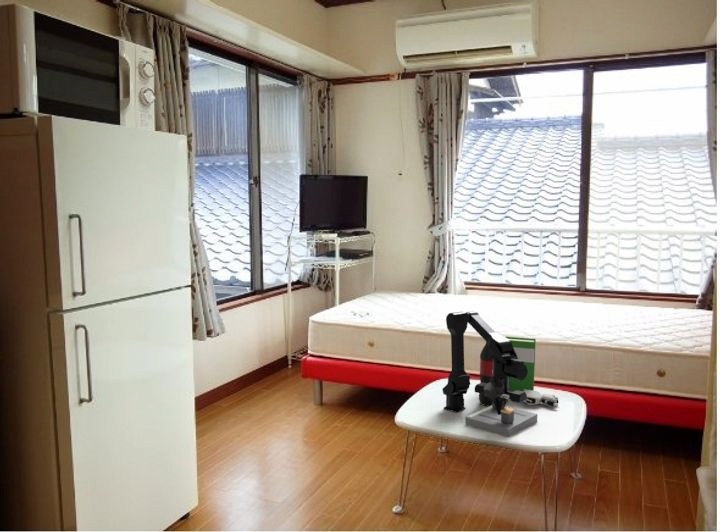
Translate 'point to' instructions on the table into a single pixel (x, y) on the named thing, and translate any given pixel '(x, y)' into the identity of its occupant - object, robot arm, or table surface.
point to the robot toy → (540, 398)
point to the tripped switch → (507, 415)
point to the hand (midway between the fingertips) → (499, 414)
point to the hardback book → (526, 354)
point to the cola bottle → (485, 373)
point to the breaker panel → (492, 421)
